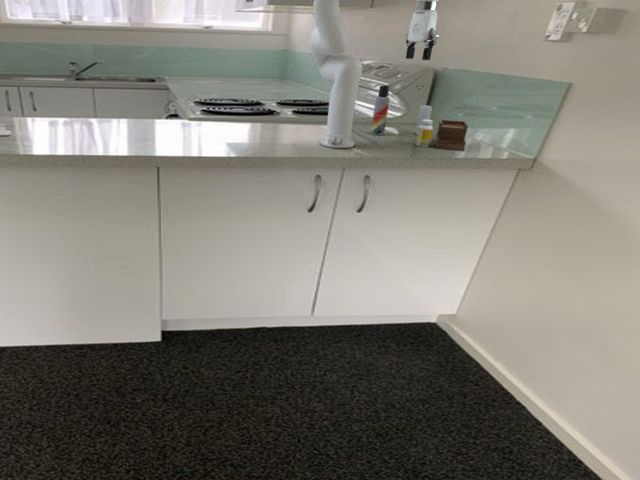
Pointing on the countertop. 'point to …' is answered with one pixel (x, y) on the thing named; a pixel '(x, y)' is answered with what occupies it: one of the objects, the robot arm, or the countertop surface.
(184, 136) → the countertop surface
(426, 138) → the supplement bottle
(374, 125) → the lotion bottle
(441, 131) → the spice rack
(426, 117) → the pale translucent container
